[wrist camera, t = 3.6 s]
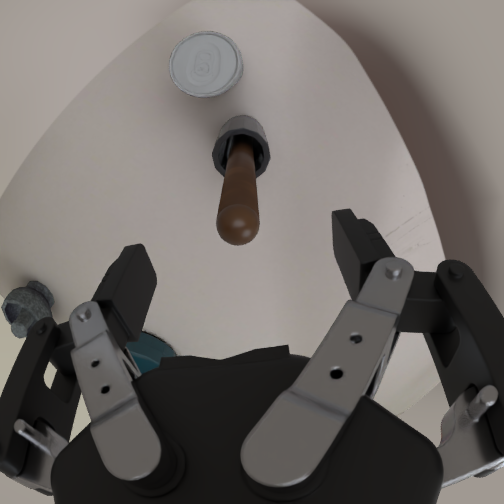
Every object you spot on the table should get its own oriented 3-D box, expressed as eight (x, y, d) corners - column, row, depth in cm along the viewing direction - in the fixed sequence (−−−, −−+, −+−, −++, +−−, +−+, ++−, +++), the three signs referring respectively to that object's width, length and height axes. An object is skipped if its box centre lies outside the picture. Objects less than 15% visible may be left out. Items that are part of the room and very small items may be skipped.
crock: (225, 160, 32) (219, 186, 25) (216, 119, 29) (207, 135, 22) (267, 152, 31) (273, 177, 25) (260, 111, 29) (264, 123, 22)
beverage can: (192, 86, 27) (162, 95, 17) (200, 43, 24) (172, 27, 14) (239, 92, 27) (234, 103, 17) (247, 49, 25) (248, 34, 15)
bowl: (124, 376, 55) (119, 395, 51) (87, 329, 47) (78, 349, 43) (190, 375, 54) (188, 396, 50) (160, 323, 46) (154, 347, 42)
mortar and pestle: (51, 321, 46) (26, 369, 36) (15, 290, 42) (-15, 336, 32) (73, 295, 42) (43, 350, 32) (31, 258, 38) (-6, 309, 28)
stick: (234, 147, 30) (220, 257, 14) (230, 129, 29) (209, 218, 13) (253, 144, 30) (264, 249, 14) (250, 126, 29) (256, 210, 12)
